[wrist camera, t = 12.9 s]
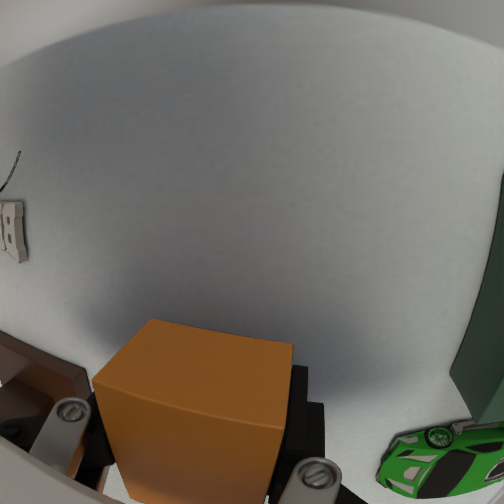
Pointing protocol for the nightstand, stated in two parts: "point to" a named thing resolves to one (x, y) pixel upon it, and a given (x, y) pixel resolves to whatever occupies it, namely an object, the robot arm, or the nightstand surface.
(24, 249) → the necklace
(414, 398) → the nightstand surface
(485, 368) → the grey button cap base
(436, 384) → the nightstand surface
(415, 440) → the toy car
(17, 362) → the stand
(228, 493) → the orange block
